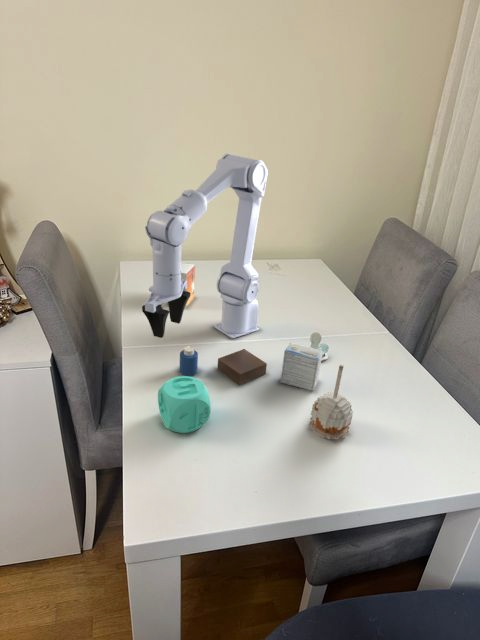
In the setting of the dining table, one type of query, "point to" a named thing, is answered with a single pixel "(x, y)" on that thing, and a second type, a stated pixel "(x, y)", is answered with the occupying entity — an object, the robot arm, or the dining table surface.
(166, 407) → the decorative dice
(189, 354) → the blue bottle
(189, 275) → the small box
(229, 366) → the walnut block
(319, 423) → the caramel apple
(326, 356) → the pacifier
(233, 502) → the dining table surface
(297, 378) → the medicine box
